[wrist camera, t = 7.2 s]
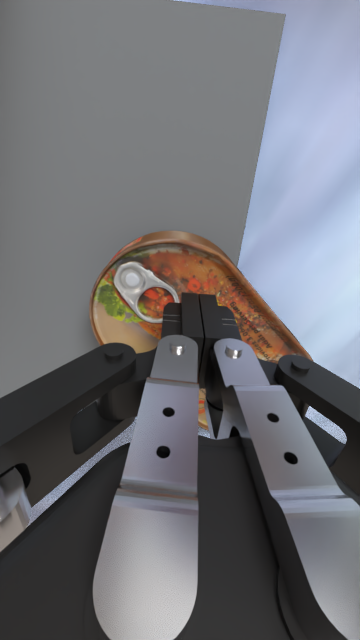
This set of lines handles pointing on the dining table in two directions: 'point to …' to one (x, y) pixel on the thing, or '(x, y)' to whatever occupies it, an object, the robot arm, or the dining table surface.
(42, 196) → the mat
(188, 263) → the tin
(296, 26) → the dining table surface
